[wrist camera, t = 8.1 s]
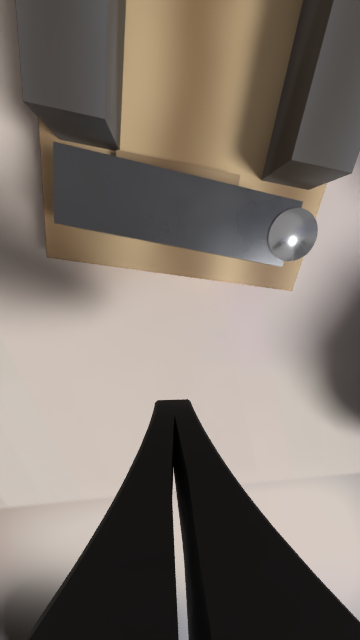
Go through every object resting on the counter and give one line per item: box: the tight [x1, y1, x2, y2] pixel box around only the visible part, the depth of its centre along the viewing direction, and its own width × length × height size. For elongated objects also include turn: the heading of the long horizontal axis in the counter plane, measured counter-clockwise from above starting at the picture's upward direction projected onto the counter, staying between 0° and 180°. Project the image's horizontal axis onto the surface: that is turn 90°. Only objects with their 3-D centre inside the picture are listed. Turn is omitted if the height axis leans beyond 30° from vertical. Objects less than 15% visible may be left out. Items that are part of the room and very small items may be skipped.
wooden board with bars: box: [15, 0, 360, 291], centre depth 10 cm, size 16×20×6 cm
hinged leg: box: [53, 141, 318, 267], centre depth 11 cm, size 12×3×3 cm, turn 80°
